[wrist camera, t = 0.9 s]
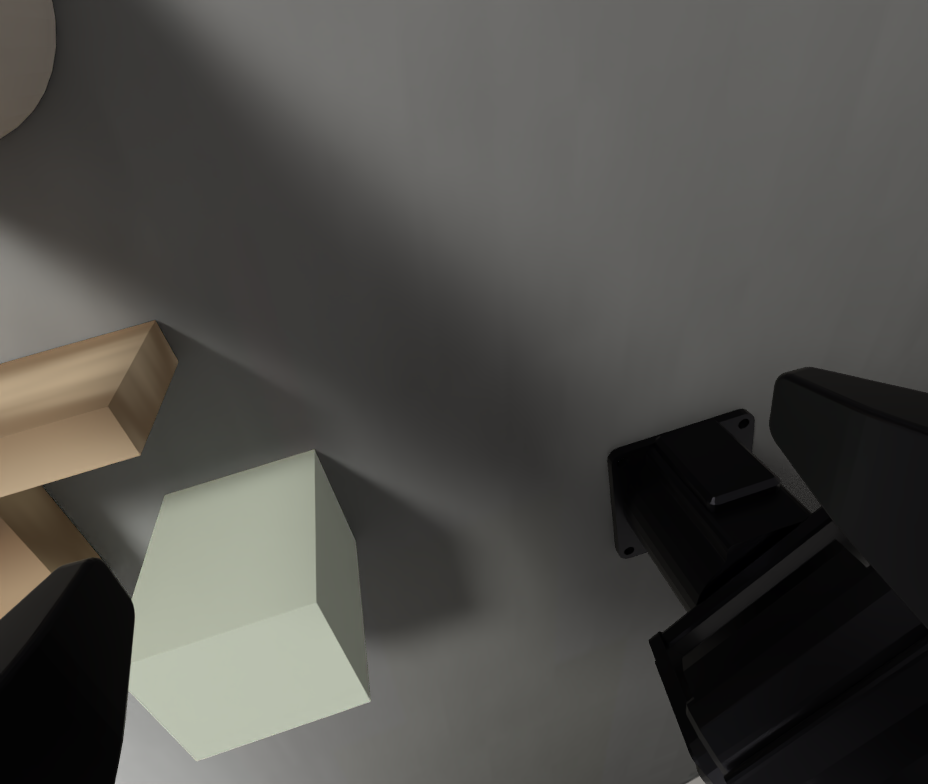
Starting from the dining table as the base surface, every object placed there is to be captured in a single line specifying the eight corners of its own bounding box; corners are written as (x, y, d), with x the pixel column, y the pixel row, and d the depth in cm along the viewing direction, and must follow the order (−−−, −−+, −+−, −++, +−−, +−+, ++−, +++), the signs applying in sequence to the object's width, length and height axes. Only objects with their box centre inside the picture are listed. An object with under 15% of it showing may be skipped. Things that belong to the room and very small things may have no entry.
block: (360, 550, 24) (376, 711, 19) (230, 592, 24) (205, 770, 18) (314, 448, 21) (316, 602, 15) (165, 494, 21) (108, 670, 15)
